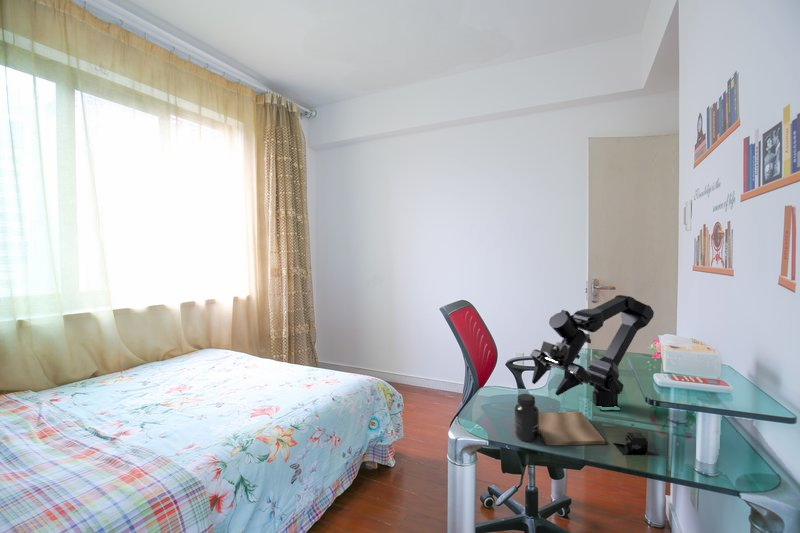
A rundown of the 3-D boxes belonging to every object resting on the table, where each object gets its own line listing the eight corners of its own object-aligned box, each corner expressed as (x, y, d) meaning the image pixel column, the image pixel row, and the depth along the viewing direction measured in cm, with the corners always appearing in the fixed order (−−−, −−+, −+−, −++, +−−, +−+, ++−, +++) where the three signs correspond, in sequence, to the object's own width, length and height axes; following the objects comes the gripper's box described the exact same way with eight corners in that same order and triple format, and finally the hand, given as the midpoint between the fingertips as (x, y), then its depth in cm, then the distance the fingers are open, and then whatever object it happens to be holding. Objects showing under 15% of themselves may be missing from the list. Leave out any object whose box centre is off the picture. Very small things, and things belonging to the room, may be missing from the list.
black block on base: (653, 443, 103) (654, 427, 103) (669, 460, 96) (669, 443, 95) (606, 443, 105) (606, 428, 104) (618, 459, 97) (618, 443, 97)
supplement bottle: (541, 443, 106) (540, 403, 105) (516, 441, 107) (515, 402, 106) (537, 429, 113) (536, 392, 111) (514, 428, 114) (512, 391, 113)
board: (581, 414, 119) (581, 411, 119) (605, 443, 103) (605, 440, 103) (530, 416, 121) (530, 413, 120) (546, 445, 105) (546, 441, 105)
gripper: (533, 324, 120) (507, 364, 117) (583, 339, 103) (554, 386, 100) (552, 343, 124) (527, 383, 121) (602, 360, 107) (575, 406, 104)
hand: (544, 388), depth 111 cm, fingers open, 9 cm apart
